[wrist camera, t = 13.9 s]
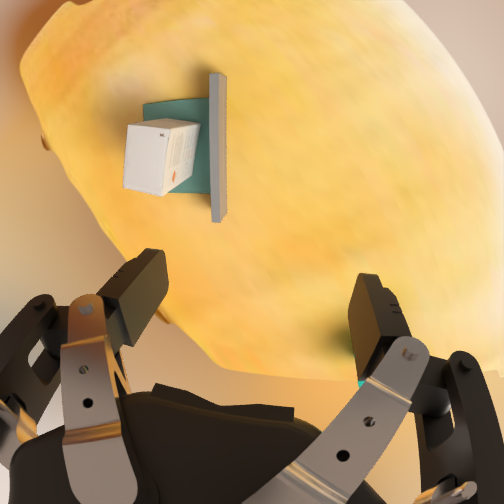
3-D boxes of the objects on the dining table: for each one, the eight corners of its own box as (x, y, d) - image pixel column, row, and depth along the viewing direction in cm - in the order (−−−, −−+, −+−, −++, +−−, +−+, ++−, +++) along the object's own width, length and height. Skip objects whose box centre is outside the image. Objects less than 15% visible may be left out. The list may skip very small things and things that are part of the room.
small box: (166, 117, 35) (126, 122, 26) (202, 122, 35) (170, 127, 26) (159, 169, 39) (120, 188, 30) (192, 176, 39) (161, 198, 29)
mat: (144, 104, 34) (143, 104, 34) (214, 97, 33) (214, 97, 33) (149, 191, 41) (148, 192, 41) (216, 193, 40) (215, 193, 39)
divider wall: (218, 77, 32) (209, 73, 28) (226, 76, 32) (219, 72, 28) (219, 212, 41) (211, 222, 38) (227, 212, 41) (220, 222, 37)
